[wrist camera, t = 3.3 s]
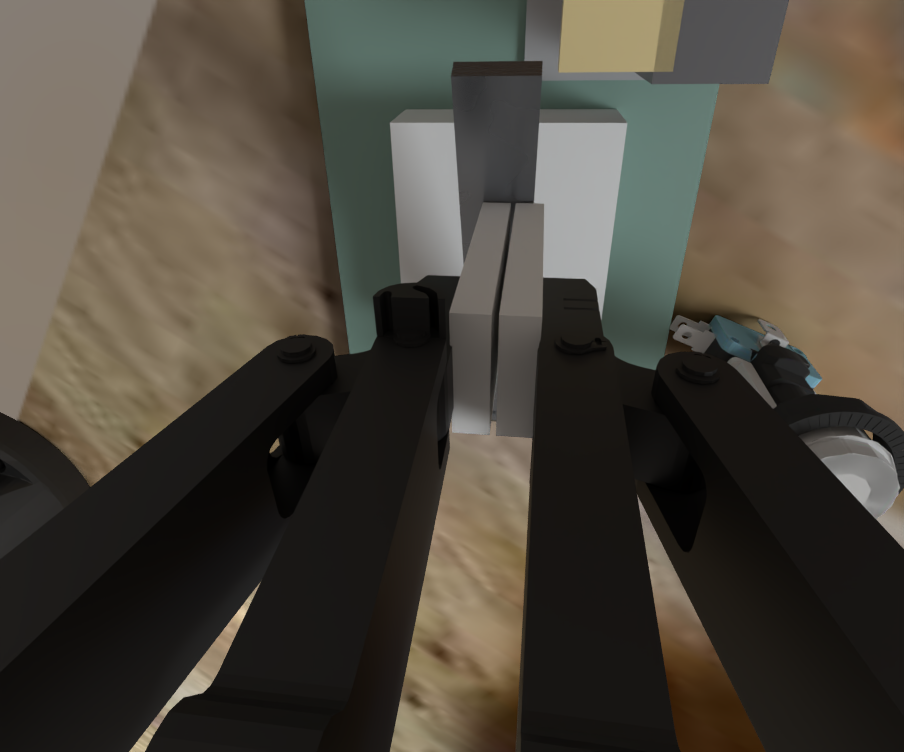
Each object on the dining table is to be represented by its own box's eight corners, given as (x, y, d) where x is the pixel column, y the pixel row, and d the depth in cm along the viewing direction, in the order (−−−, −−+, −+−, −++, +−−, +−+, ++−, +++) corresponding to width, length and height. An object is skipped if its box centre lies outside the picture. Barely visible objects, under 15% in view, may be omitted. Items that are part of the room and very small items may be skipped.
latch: (551, 65, 21) (557, 84, 16) (559, -37, 20) (566, -51, 14) (711, 63, 21) (768, 83, 16) (731, -42, 19) (802, -58, 14)
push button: (640, 359, 29) (684, 505, 20) (705, 265, 26) (787, 390, 18) (759, 408, 29) (848, 569, 21) (834, 321, 27) (973, 468, 18)
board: (360, 380, 31) (338, 428, 28) (309, -45, 21) (265, -53, 18) (649, 394, 30) (664, 447, 26) (738, -58, 20) (781, -70, 16)
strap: (462, 404, 26) (459, 423, 26) (428, 57, 13) (422, 81, 13) (533, 407, 26) (533, 427, 25) (570, 55, 13) (570, 80, 13)
